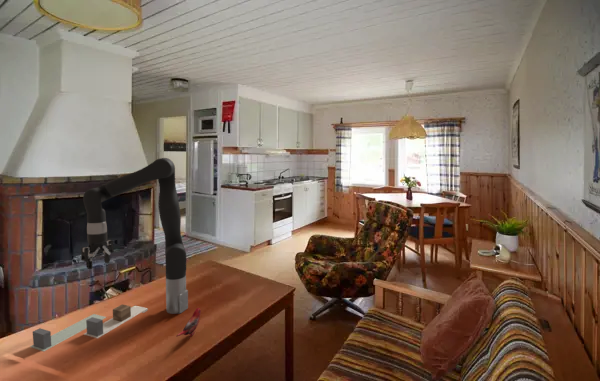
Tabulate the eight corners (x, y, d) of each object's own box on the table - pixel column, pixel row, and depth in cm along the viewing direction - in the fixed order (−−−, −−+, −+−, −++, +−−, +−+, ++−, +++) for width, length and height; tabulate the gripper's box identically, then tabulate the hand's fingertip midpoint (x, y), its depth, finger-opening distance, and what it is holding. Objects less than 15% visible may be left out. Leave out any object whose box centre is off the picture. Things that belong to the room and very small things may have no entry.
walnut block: (130, 316, 140) (130, 306, 139) (121, 321, 135) (121, 311, 134) (122, 314, 141) (122, 304, 141) (113, 319, 136) (112, 309, 136)
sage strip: (106, 319, 138) (106, 304, 138) (44, 353, 114) (42, 336, 113) (93, 315, 141) (93, 301, 140) (29, 349, 116) (28, 332, 115)
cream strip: (147, 310, 147) (147, 296, 147) (97, 340, 123) (97, 324, 122) (135, 307, 150) (134, 294, 149) (83, 336, 125) (82, 320, 124)
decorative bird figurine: (203, 327, 135) (203, 306, 134) (179, 351, 118) (179, 327, 117) (198, 326, 136) (197, 305, 135) (173, 350, 119) (172, 326, 117)
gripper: (88, 236, 129) (90, 272, 131) (117, 228, 142) (118, 261, 144) (75, 234, 131) (77, 270, 133) (104, 227, 144) (106, 259, 146)
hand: (98, 265), depth 139 cm, fingers open, 8 cm apart
